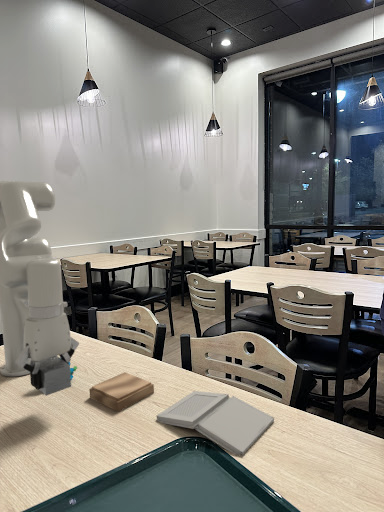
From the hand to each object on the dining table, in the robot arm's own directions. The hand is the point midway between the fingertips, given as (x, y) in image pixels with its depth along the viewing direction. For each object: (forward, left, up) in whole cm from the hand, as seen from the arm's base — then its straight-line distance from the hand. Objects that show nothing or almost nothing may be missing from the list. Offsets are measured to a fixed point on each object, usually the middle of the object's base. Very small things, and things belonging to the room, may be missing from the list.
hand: (50, 381), depth 86 cm
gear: (-13, +9, -8) cm, 18 cm away
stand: (+7, +16, -8) cm, 19 cm away
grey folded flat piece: (+34, +21, -9) cm, 41 cm away
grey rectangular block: (0, 0, -1) cm, 1 cm away
